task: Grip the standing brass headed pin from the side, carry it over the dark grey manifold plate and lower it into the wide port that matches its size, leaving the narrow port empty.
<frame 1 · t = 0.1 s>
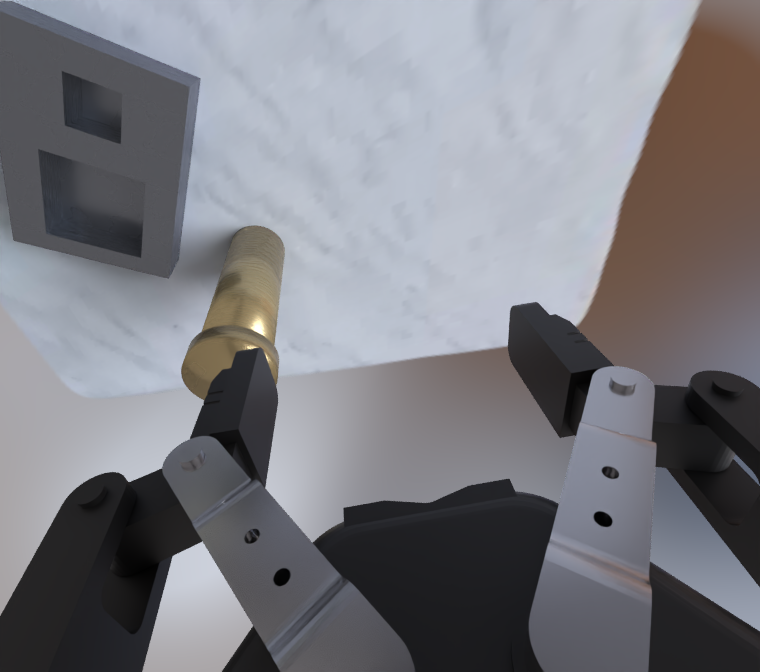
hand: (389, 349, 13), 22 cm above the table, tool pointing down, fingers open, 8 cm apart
manifold plate: (111, 155, 28), on the table
brass headed pin: (258, 249, 34), on the table
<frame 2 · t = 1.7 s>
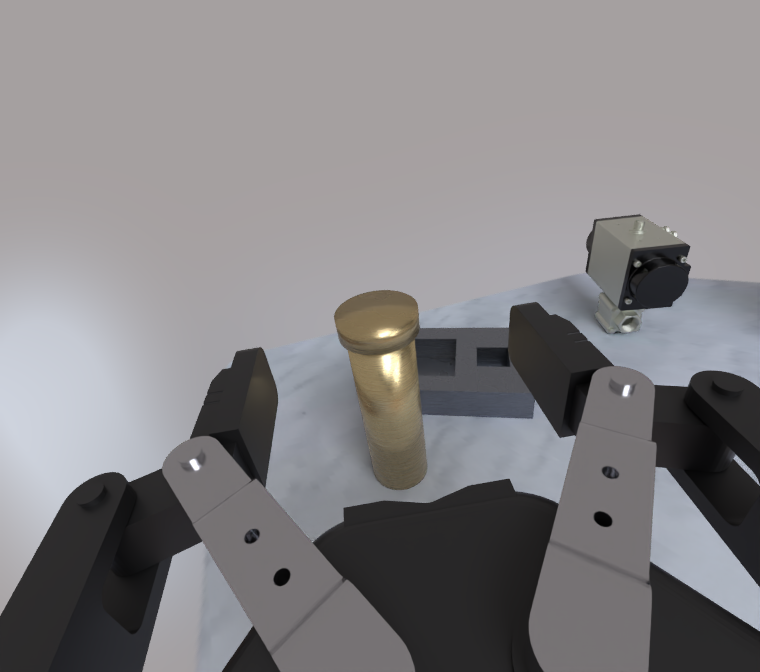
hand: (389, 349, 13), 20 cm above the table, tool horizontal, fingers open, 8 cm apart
manifold plate: (453, 379, 41), on the table
pneumatic valve: (619, 326, 45), on the table
brass headed pin: (400, 466, 33), on the table
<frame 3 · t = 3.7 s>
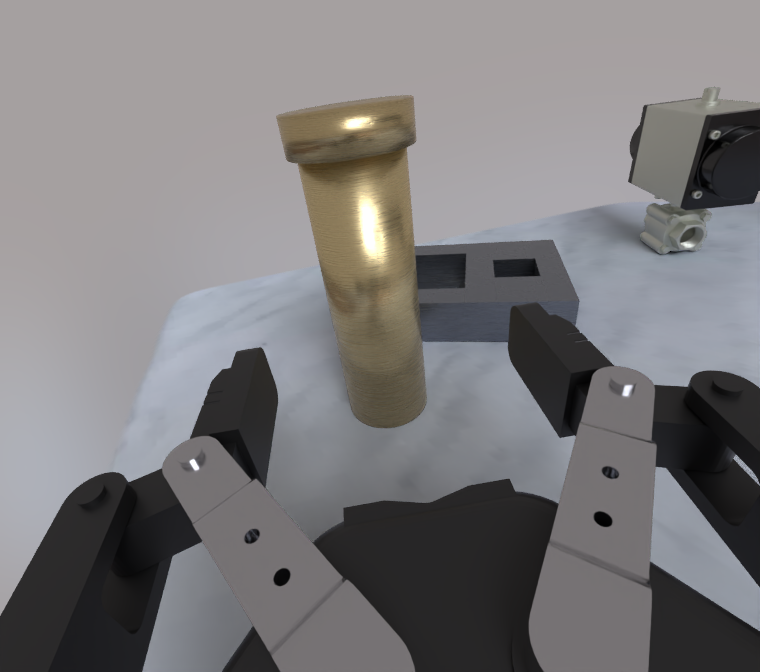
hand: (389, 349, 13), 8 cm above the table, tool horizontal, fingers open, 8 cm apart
manifold plate: (462, 304, 31), on the table
pneumatic valve: (672, 247, 36), on the table
brass headed pin: (388, 399, 23), on the table
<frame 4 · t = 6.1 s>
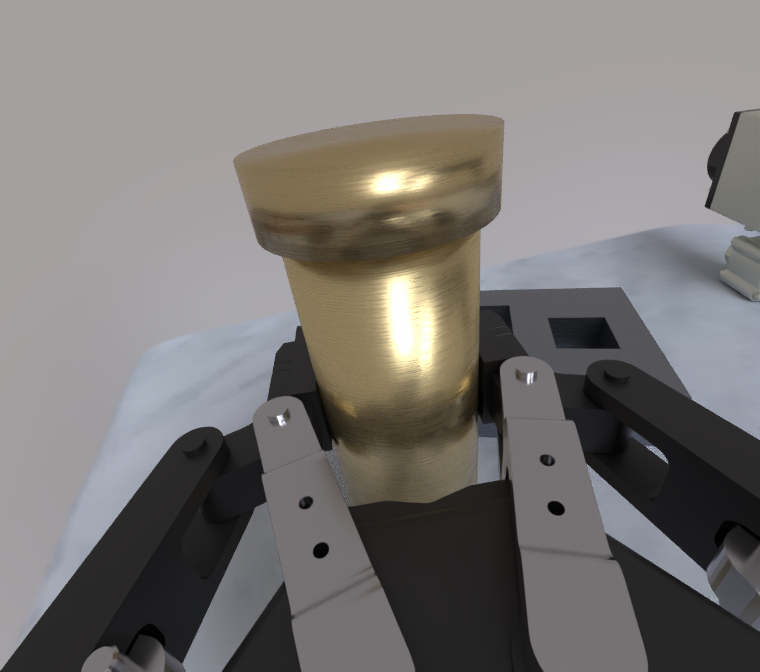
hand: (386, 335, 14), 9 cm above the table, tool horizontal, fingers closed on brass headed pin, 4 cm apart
manifold plate: (506, 374, 24), on the table
brass headed pin: (420, 547, 16), on the table, touching gripper
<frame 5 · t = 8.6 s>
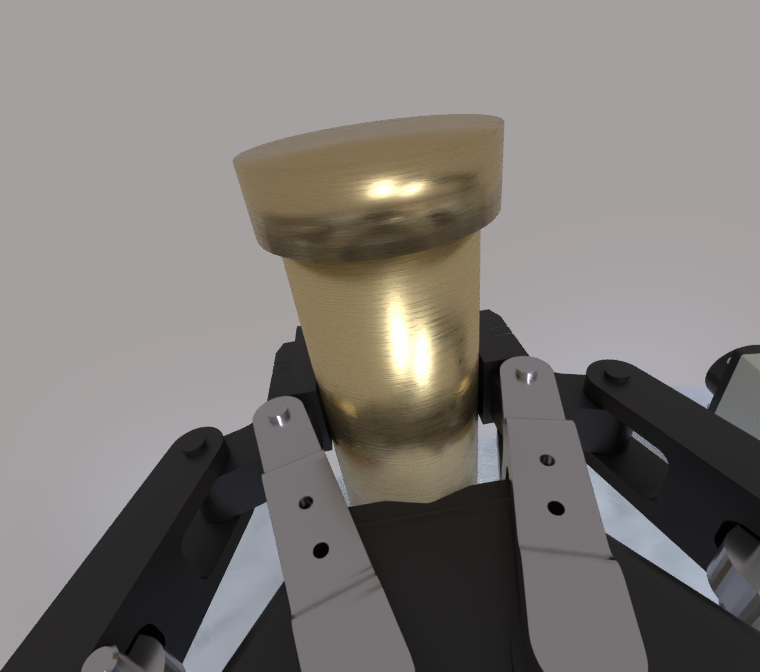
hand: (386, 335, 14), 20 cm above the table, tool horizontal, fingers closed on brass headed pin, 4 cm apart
brass headed pin: (420, 547, 16), point 11 cm above the table, touching gripper
when the fingers open (9 cm above the table, at t = 11.6 s): brass headed pin stays where it is, resting on manifold plate.
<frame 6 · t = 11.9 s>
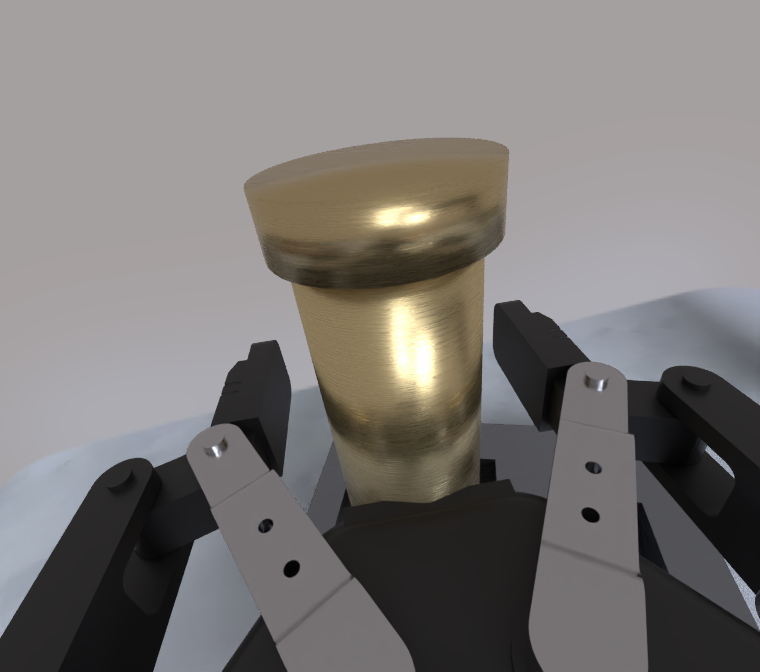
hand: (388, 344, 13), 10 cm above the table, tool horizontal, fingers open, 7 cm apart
manifold plate: (490, 569, 16), on the table
brass headed pin: (421, 556, 16), point 1 cm above the table, touching manifold plate
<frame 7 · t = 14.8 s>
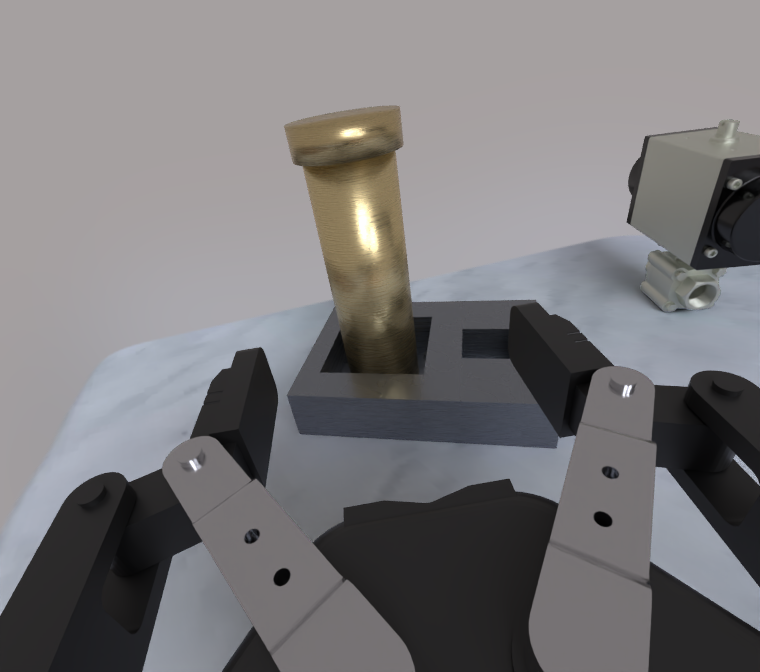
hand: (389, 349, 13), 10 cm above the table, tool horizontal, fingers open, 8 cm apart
manifold plate: (427, 380, 26), on the table
pneumatic valve: (678, 301, 30), on the table
brass headed pin: (385, 374, 26), point 1 cm above the table, touching manifold plate
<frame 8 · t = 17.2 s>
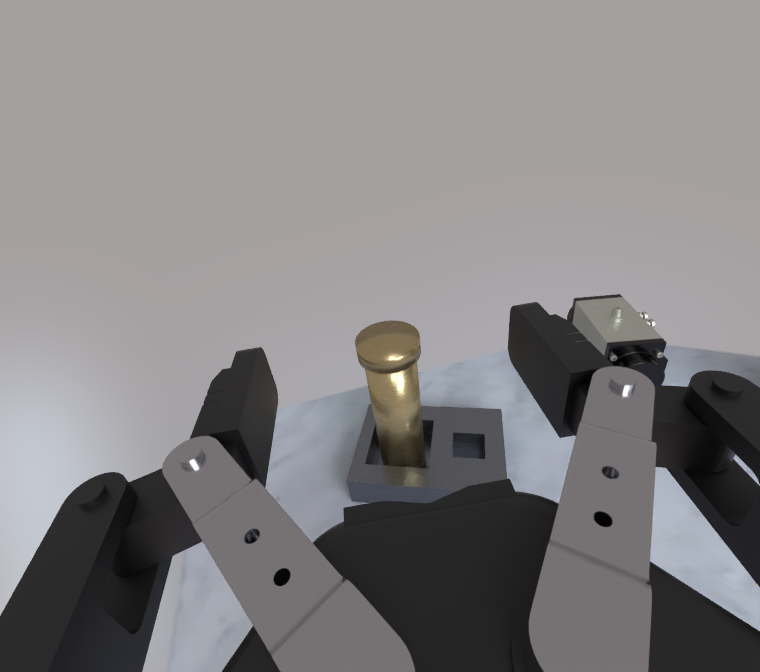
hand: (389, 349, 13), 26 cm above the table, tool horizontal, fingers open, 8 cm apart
manifold plate: (430, 463, 41), on the table
pneumatic valve: (600, 402, 45), on the table
brass headed pin: (403, 458, 41), point 1 cm above the table, touching manifold plate
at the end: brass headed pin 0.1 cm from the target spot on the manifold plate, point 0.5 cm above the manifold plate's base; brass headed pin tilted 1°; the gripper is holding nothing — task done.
